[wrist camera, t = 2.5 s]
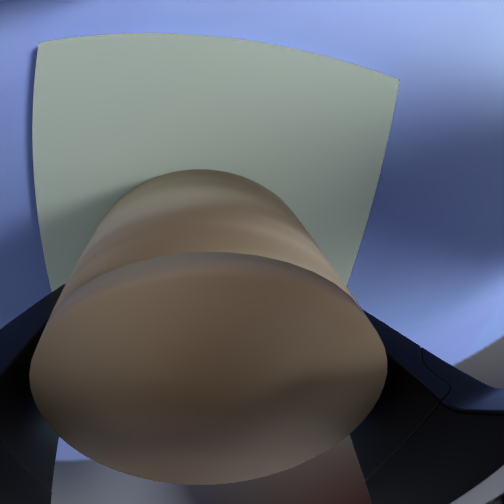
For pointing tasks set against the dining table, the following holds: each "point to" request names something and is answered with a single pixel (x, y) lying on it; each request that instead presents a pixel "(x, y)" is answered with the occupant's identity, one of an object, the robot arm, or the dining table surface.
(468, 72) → the dining table surface
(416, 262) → the dining table surface
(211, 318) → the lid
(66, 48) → the mat
